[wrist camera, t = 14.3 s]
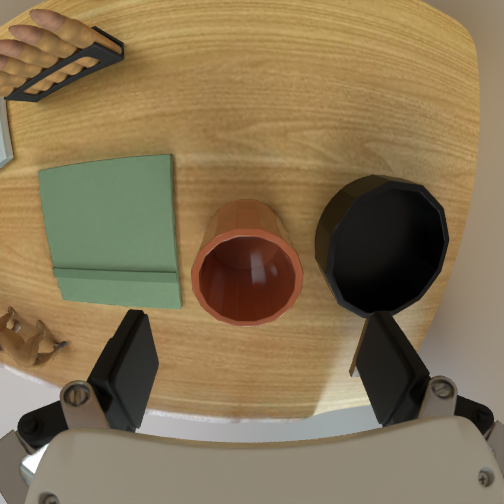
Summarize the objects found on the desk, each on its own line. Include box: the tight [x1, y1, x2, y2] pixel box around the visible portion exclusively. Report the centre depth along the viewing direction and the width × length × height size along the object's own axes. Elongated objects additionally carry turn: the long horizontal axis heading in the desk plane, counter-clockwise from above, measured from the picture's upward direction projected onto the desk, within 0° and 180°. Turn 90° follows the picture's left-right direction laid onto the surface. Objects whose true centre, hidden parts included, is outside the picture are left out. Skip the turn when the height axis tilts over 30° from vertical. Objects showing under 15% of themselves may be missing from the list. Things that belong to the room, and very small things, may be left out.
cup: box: [191, 199, 303, 326], centre depth 20 cm, size 6×6×8 cm
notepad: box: [38, 154, 182, 309], centre depth 22 cm, size 14×14×1 cm
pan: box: [315, 174, 449, 377], centre depth 24 cm, size 12×20×4 cm, turn 179°
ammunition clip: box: [0, 9, 124, 102], centre depth 11 cm, size 11×2×12 cm, turn 98°
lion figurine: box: [0, 307, 68, 371], centre depth 23 cm, size 15×5×9 cm, turn 82°
